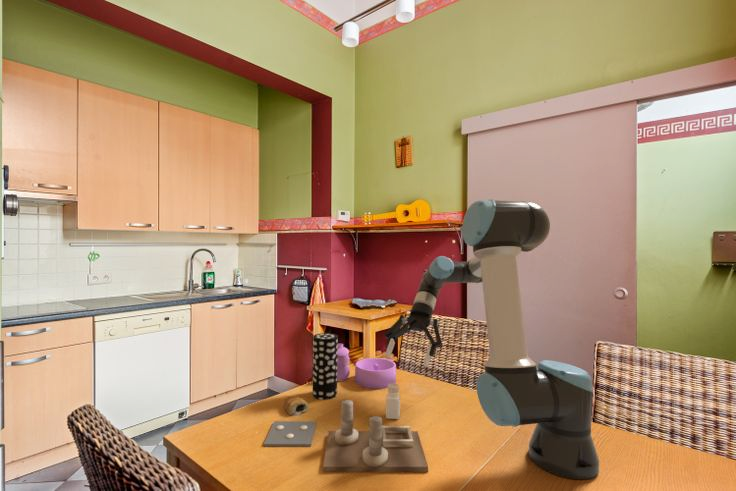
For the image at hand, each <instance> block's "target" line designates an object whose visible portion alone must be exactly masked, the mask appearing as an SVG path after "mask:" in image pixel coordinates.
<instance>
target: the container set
mask: <svg viewBox="0 0 736 491" xmlns="http://www.w3.org/2000/svg"><path fill="white" fill-rule="evenodd" d="M349 354H350V350H349V349H348V347H345V346H344V343H338V353H337V382H342V381H346V380H347V379H348V378H349V376H350V374H351V373H350V371H351V370H350V367H349V366H348V364H349V363H350V359H351V358H350V357H349ZM354 364H355V365H354V367H355V369H354V382H355V384H356V385H357V386H360V387H362V388H363V389H364V388H365V389H369V390H370V389H371V390H380V389H382V390H383V389H388V385H389V384H392V383H394V384H397V383H396V382H397V364H396V362H395V361H393V360H391V359H389V360H388V359H387V358H381V357H367V358H362V359H360V360H357V361H356V362H355V363H354Z"/></svg>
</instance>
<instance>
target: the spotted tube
mask: <svg viewBox="0 0 736 491" xmlns="http://www.w3.org/2000/svg"><path fill="white" fill-rule="evenodd" d="M338 337H339V335H338V334H336V333H335V334H334V333H329V332H328V333H327V332H326V333H325V332H324V333H317V334H314V335H312V397H313V398H314V399H317V400H320V401H326V400H331V399H335V398H336V397H337V395H338V381H337V353H338V344H339V341H338V340H339V338H338Z"/></svg>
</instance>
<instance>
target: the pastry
mask: <svg viewBox="0 0 736 491" xmlns="http://www.w3.org/2000/svg"><path fill="white" fill-rule="evenodd" d="M283 406H284V410H285V411H286V412H287V413H288V414H289V415H290V416H298V415H300V414H303V413H306V412H307V411H308V410H309V408H310V406H309V403H308V402H307V400H305V399H304V398H302V397H298V396H290V397H286V398H285V400H284V401H283Z"/></svg>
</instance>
